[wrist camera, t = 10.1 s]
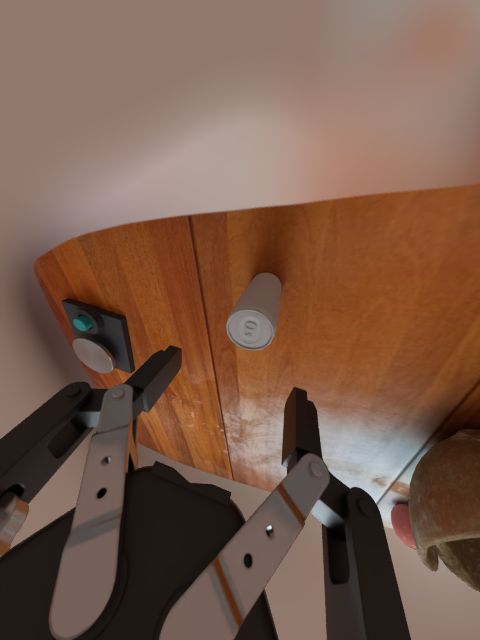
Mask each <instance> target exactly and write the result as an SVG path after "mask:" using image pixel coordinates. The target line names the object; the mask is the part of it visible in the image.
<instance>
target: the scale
mask: <svg viewBox="0 0 480 640" xmlns="http://www.w3.org/2000/svg"><path fill="white" fill-rule="evenodd" d="M61 302H62V304H63V307H64V309H65V312H66V315H67V317H68V320H69V322H70V325H71V327H72V330H73V333H74V335H75V338H76V339H77V338H79V337H83V336H84V337H89V338H92V339H94V340H96V341H98V342H99V343H101V344H102V345H103V346H105V347H106V348H107V349H108V351H109V352H110V353H111V354H112V356H113V358H114V360H115V368H117V369H120V370H122V371H125V372H128V373H132V372H133V371H134V370H135V366H134V361H133V355H132V350H131V344H130V339H129V333H128V328H127V322H126V317H124V316H121V315H118V314H115V313H112V312H109V311H106V310H103V309H100V308H96V307H93V306H90V305H87V304H84V303H81V302H78V301H75V300H72V299H65V300H62V301H61ZM82 315H84V316H86V317H87V318H88V319H89V320H90V321H91V322H92V325H93V326H92V327H91V328H89V329H87V330H86V331H81V330H79V329H78V328H76V326H75V325H74V323H73V320H74V319H76V318H78V317H80V316H82Z"/></svg>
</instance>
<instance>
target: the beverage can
mask: <svg viewBox="0 0 480 640" xmlns="http://www.w3.org/2000/svg"><path fill="white" fill-rule="evenodd" d="M281 294H282V286H281V282H280V280H279V279H278V277H276V276H275V275H274V274H271V273H260V274H258V275H257V276H255V277H254V278H253V280H252V281H251V282H250V284H249V286H248V287H247V289H246V290H245V292H244V293H243V294H242V296H241V298H240V299H239V301H238V302H237V304H236V305H235V307H234V309H233V310H232V312H231V313H230V315H229V318H228V322H227V325H226V326H227V333H228V336H229V337H230V339H231V340H232V341H233V342H234V343H235V344H236V345H237V346H239V347H241V348H243V349H246V350H260V349H263V348H265V347H267V346H268V345H269V344H270V343H271V341H272V339H273V337H274V335H275V333H276V327H277V321H278V314H279V307H280V301H281Z"/></svg>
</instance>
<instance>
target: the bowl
mask: <svg viewBox="0 0 480 640" xmlns="http://www.w3.org/2000/svg"><path fill="white" fill-rule="evenodd" d="M408 507H409V517H410V524H411V529H412V534H413V539H414V542H415V546H416V550H417V552H418V555H419V556H420V559H421V561H422V562H423V563H424V564H425V566H427V567H428V568H429V569H430V570H432V571H437V569H438V556H439V557H440V559H441V560H442V561H443V562H444V564H445V565H446V567H447V568H448V569H449V570H450V571H451V572H453V573H454V574H455V575H456V576H457V577H458V578H460V579H461V580H463V581H465V582H466V583H467V585H468V586H469V587H471V588H473V589H475V590H477V591H479V592H480V430H479V429H462V430H459V431H457V433H456V434H455V435H453V436H451V437H449V438H447V439H444V440H442V441H441V442H439V443H437V444H436V445H434V446H433V447H432V448H431V449H430V450H429V451H428V452H427V453H426V454H425V455H424V456H423V457H422V458H421V460H420V461H419V463H418V464H417V466H416V468H415V471H414V473H413V476H412V479H411V482H410V492H409V500H408Z"/></svg>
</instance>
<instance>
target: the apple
mask: <svg viewBox="0 0 480 640" xmlns="http://www.w3.org/2000/svg"><path fill="white" fill-rule="evenodd" d="M391 521H392V525H393V528H394V530H395V533H396V534H397V536H398V537H399V539H400V540H401V541H402V542H403V543H404V544H406V545H407V546H409V547H411V548H413V549H416V546H415V542H414V539H413V534H412V529H411V524H410V517H409V507H408V505H406V504H398V505H395V506H394V507H393V509H392V511H391Z"/></svg>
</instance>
